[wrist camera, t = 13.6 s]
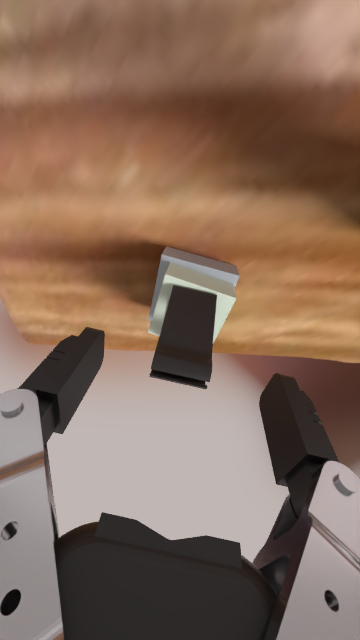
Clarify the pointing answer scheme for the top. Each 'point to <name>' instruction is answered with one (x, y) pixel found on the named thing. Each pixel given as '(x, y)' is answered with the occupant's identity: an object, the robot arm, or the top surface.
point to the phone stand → (186, 338)
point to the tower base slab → (194, 263)
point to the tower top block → (197, 282)
